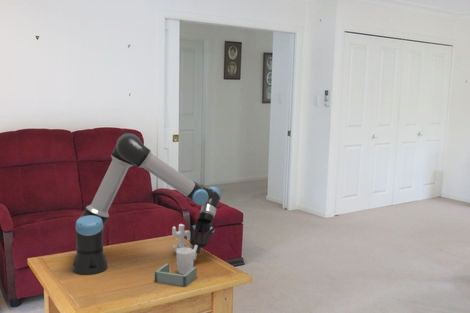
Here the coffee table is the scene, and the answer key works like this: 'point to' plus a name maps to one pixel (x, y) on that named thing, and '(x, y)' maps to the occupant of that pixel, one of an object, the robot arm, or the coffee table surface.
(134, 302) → the coffee table surface
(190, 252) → the white cup
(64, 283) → the coffee table surface
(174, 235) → the figurine
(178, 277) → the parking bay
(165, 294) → the coffee table surface
